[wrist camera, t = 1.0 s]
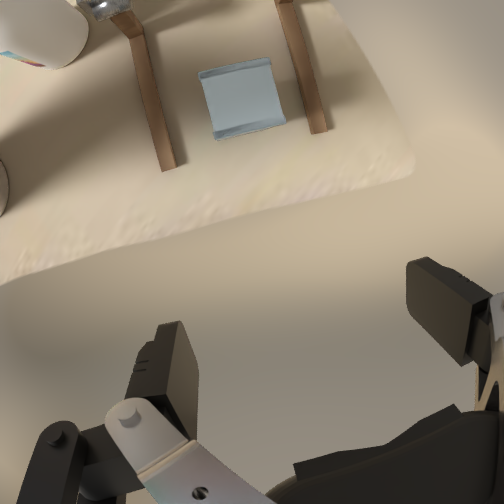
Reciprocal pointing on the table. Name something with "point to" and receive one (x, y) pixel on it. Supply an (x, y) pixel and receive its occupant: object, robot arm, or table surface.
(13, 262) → the table surface
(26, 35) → the milk bottle
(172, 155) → the bay
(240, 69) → the lidded storage bin
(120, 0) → the metal cylinder with tab
